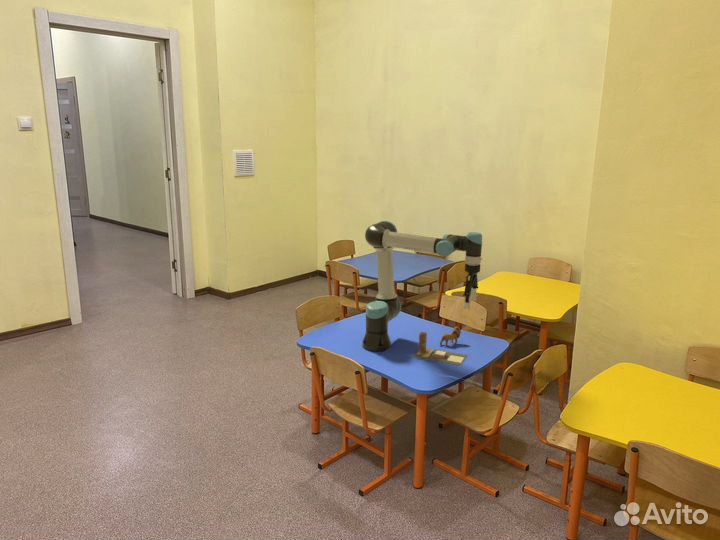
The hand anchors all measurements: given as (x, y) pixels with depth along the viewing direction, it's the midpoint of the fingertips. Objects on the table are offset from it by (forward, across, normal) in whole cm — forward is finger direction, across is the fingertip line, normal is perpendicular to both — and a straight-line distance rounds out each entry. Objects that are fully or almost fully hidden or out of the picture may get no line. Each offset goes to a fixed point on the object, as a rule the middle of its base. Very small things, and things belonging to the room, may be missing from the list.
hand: (470, 304), depth 270 cm
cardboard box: (+26, -12, +19) cm, 34 cm away
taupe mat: (+26, -12, +11) cm, 31 cm away
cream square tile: (+26, -12, +11) cm, 30 cm away
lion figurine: (+26, +7, +11) cm, 30 cm away
